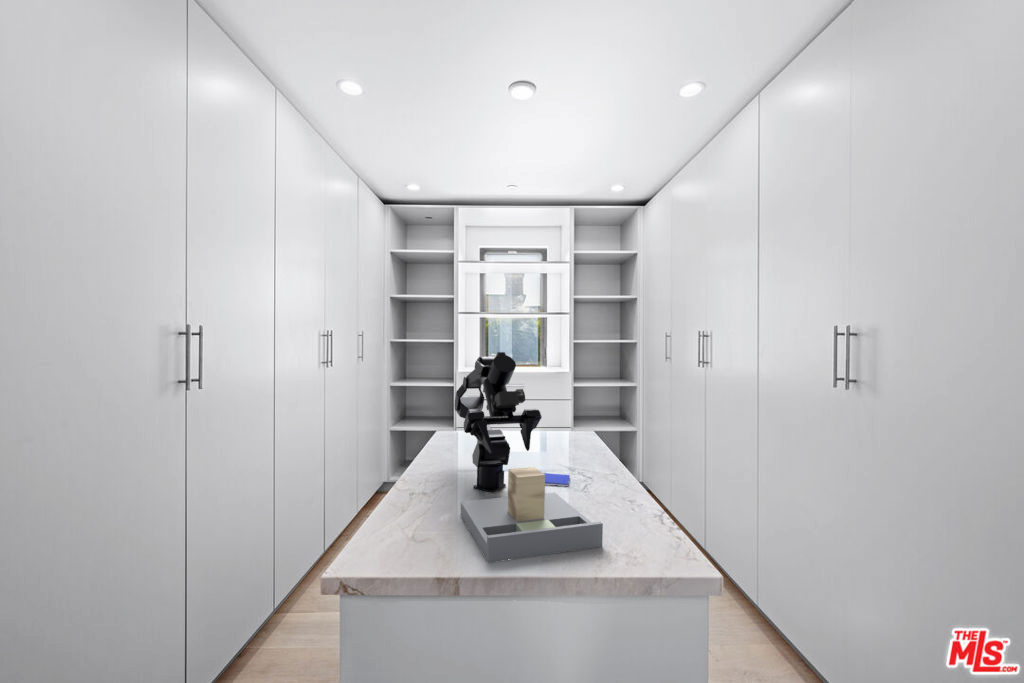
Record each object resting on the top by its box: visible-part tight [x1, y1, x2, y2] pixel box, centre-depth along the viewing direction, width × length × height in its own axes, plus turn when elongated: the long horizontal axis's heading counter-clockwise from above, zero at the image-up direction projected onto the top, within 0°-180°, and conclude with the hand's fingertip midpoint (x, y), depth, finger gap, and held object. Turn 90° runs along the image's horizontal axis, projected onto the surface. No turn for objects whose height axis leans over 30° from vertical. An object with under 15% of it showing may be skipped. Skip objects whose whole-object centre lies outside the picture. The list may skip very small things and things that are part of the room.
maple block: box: [507, 466, 546, 521], centre depth 98 cm, size 6×6×9 cm
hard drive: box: [542, 472, 571, 487], centre depth 131 cm, size 2×8×12 cm
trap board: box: [460, 492, 604, 564], centre depth 97 cm, size 23×23×4 cm
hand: (510, 451), depth 109 cm, fingers open, 9 cm apart
